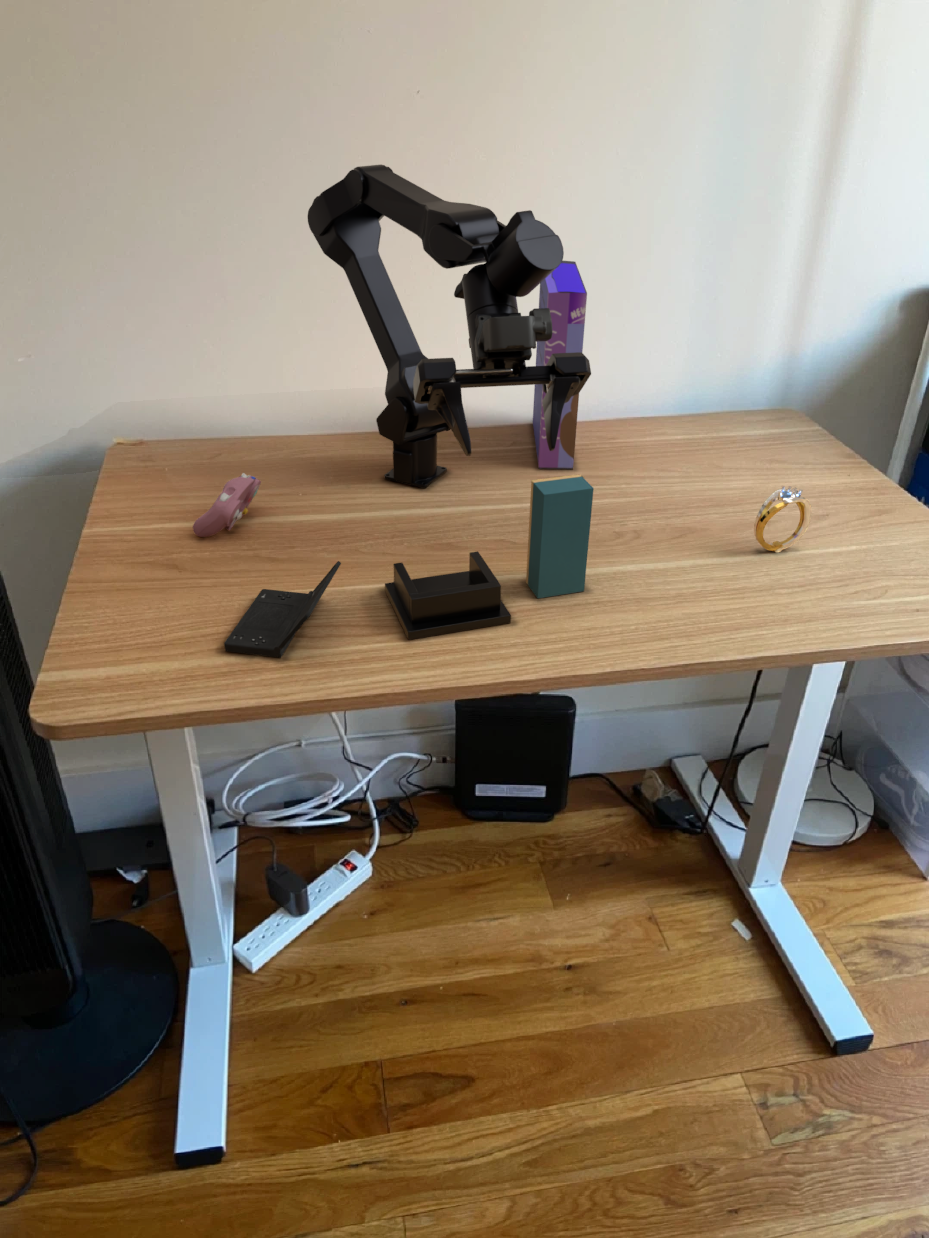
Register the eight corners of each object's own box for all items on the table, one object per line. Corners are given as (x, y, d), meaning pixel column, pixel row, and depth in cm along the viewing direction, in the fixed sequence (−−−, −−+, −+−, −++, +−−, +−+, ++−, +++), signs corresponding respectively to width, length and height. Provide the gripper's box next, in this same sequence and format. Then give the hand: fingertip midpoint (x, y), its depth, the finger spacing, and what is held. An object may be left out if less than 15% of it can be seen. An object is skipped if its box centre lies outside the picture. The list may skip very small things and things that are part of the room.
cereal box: (573, 469, 131) (587, 291, 118) (538, 469, 131) (548, 291, 118) (563, 423, 146) (575, 260, 133) (532, 422, 146) (541, 259, 133)
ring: (795, 541, 114) (809, 480, 110) (809, 553, 112) (824, 491, 107) (743, 547, 113) (754, 486, 108) (756, 560, 110) (769, 498, 106)
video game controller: (222, 553, 113) (240, 508, 109) (187, 534, 113) (205, 489, 109) (253, 516, 122) (272, 474, 118) (221, 499, 121) (239, 455, 117)
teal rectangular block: (525, 582, 105) (531, 480, 99) (571, 575, 107) (579, 474, 100) (537, 598, 103) (543, 494, 96) (584, 591, 104) (593, 488, 97)
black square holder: (384, 591, 104) (383, 559, 101) (480, 576, 106) (481, 545, 104) (408, 640, 96) (407, 606, 93) (510, 623, 98) (512, 590, 96)
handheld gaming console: (241, 582, 101) (290, 523, 96) (298, 615, 104) (349, 559, 99) (217, 656, 93) (269, 595, 87) (280, 689, 95) (334, 632, 90)
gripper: (416, 281, 95) (434, 427, 92) (594, 276, 98) (617, 417, 95) (406, 334, 106) (421, 467, 103) (567, 328, 109) (586, 457, 106)
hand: (511, 452), depth 102 cm, fingers open, 9 cm apart
